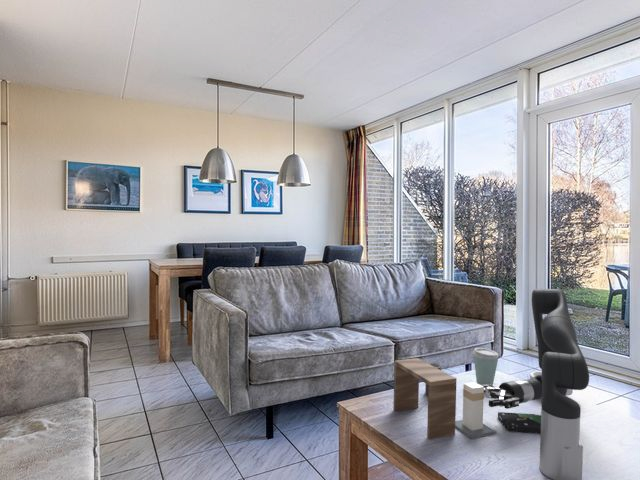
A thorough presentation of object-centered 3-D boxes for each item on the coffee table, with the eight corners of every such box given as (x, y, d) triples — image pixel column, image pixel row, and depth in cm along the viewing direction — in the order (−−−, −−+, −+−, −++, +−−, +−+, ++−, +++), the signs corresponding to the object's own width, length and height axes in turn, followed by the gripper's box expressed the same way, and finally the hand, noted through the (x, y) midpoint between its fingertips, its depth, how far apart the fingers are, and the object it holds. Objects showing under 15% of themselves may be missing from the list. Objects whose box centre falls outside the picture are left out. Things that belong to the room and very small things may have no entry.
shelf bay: (455, 434, 133) (456, 378, 132) (429, 439, 129) (430, 382, 129) (416, 406, 153) (417, 358, 153) (393, 410, 150) (394, 360, 149)
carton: (482, 428, 135) (484, 386, 135) (471, 430, 133) (472, 388, 133) (473, 422, 139) (474, 381, 139) (462, 424, 138) (463, 383, 137)
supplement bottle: (421, 392, 167) (422, 363, 166) (436, 390, 169) (437, 362, 168) (431, 399, 160) (432, 369, 160) (446, 397, 162) (446, 367, 162)
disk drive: (508, 434, 135) (554, 436, 133) (508, 425, 135) (554, 427, 133) (497, 419, 145) (540, 421, 144) (497, 411, 145) (540, 413, 144)
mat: (495, 433, 133) (495, 431, 133) (471, 438, 130) (471, 436, 130) (473, 419, 143) (474, 417, 143) (450, 424, 139) (450, 422, 139)
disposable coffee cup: (493, 380, 181) (494, 347, 180) (501, 390, 170) (502, 354, 170) (469, 379, 182) (470, 346, 182) (475, 388, 171) (476, 353, 171)
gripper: (501, 374, 149) (465, 380, 144) (533, 389, 136) (496, 395, 130) (500, 394, 150) (465, 401, 144) (533, 411, 136) (495, 418, 131)
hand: (480, 398), depth 137 cm, fingers open, 8 cm apart
